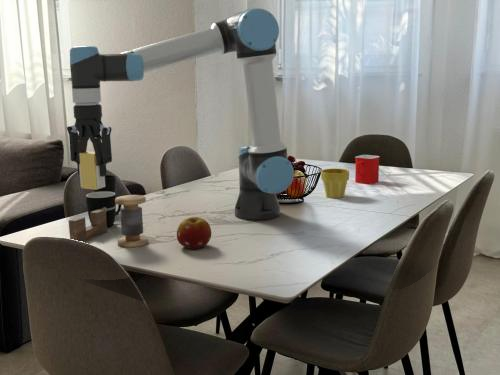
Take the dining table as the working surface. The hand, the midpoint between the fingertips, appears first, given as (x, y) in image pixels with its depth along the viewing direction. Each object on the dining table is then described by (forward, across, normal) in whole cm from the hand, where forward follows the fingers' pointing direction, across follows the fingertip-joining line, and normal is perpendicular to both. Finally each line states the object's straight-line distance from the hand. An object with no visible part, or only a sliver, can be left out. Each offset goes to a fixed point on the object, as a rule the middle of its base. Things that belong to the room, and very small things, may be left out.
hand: (93, 186), depth 170 cm
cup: (+16, +19, -30) cm, 39 cm away
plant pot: (+16, -48, -79) cm, 94 cm away
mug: (+16, +8, -15) cm, 24 cm away
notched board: (+16, +4, -1) cm, 16 cm away
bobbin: (+16, -11, -2) cm, 19 cm away
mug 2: (+16, -52, -108) cm, 121 cm away
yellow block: (0, 0, 0) cm, 0 cm away
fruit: (+16, -29, -5) cm, 34 cm away
